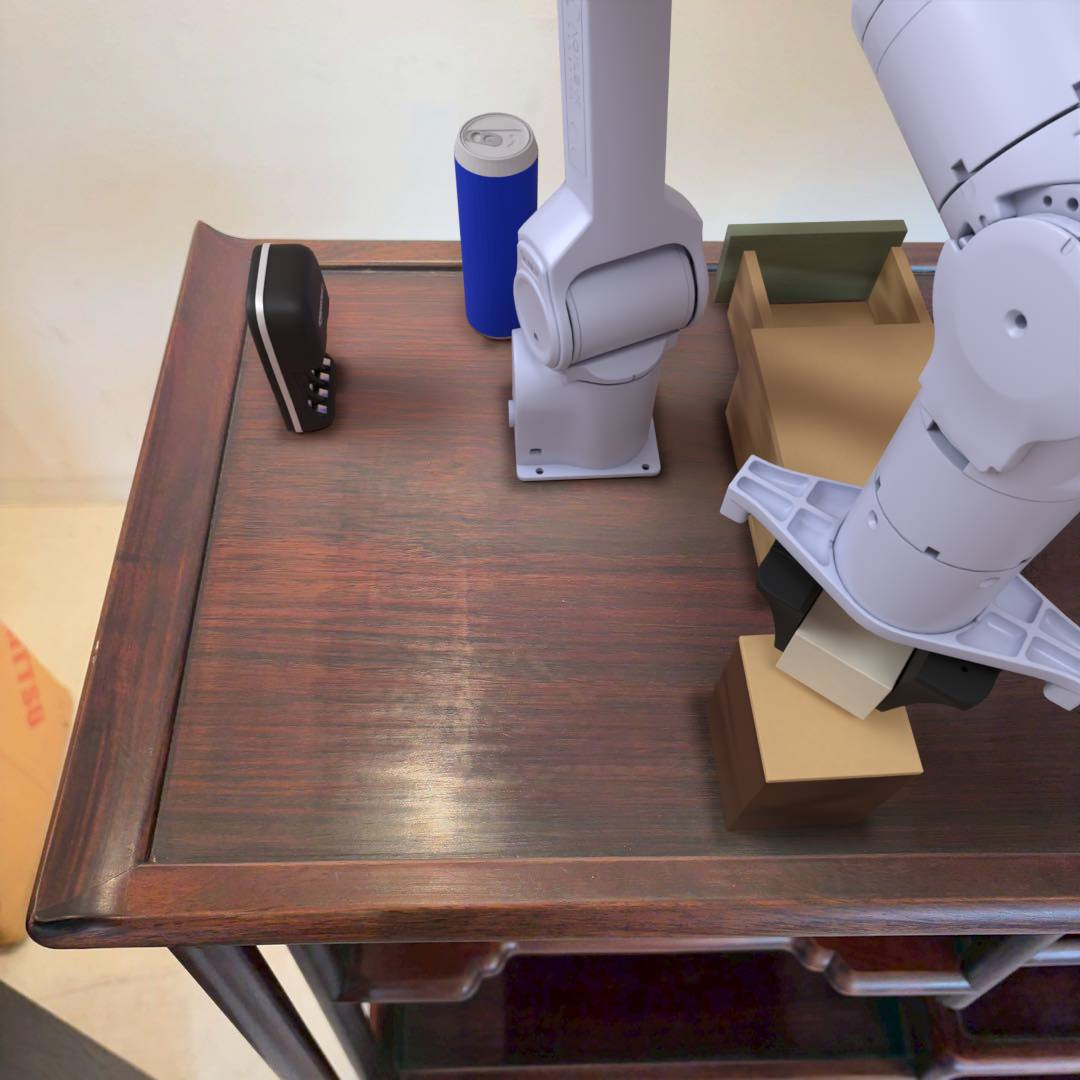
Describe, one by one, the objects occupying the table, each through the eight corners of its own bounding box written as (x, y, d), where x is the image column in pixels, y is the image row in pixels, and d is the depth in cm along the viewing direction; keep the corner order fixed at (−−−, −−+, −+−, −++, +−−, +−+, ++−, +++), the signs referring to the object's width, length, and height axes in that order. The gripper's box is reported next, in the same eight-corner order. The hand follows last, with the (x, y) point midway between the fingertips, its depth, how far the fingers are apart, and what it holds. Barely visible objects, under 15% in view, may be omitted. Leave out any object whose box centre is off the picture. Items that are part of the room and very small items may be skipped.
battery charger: (343, 435, 60) (308, 310, 50) (287, 437, 60) (240, 313, 50) (348, 358, 64) (316, 227, 54) (294, 360, 64) (252, 230, 54)
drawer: (708, 281, 67) (724, 212, 62) (869, 276, 68) (899, 207, 62) (743, 435, 60) (765, 371, 54) (923, 428, 60) (963, 365, 55)
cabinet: (724, 412, 62) (750, 328, 55) (916, 405, 62) (965, 321, 55) (764, 598, 54) (800, 528, 47) (982, 588, 55) (1048, 518, 48)
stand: (726, 831, 47) (765, 783, 39) (705, 705, 51) (738, 639, 43) (855, 823, 47) (920, 774, 40) (826, 699, 51) (880, 632, 43)
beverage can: (539, 296, 67) (542, 112, 54) (532, 346, 65) (534, 165, 52) (471, 290, 67) (459, 106, 55) (461, 340, 65) (446, 159, 52)
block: (774, 667, 41) (795, 632, 38) (818, 598, 42) (840, 560, 39) (863, 721, 39) (891, 690, 36) (903, 647, 41) (934, 612, 38)
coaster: (765, 783, 39) (768, 780, 39) (738, 639, 43) (739, 635, 43) (920, 774, 40) (924, 771, 39) (880, 632, 43) (883, 628, 43)
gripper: (1222, 523, 29) (1021, 684, 40) (817, 329, 33) (740, 524, 45) (1161, 690, 26) (962, 811, 37) (723, 452, 30) (667, 627, 42)
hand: (837, 663), depth 41 cm, fingers closed on block, 4 cm apart
